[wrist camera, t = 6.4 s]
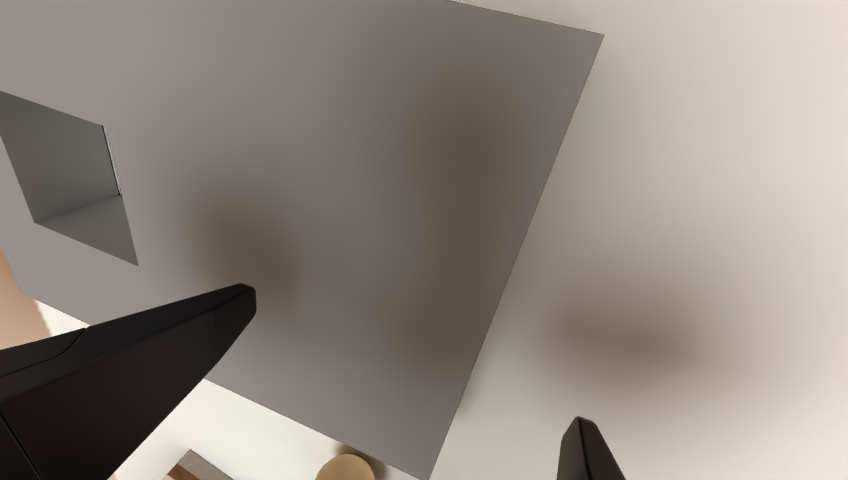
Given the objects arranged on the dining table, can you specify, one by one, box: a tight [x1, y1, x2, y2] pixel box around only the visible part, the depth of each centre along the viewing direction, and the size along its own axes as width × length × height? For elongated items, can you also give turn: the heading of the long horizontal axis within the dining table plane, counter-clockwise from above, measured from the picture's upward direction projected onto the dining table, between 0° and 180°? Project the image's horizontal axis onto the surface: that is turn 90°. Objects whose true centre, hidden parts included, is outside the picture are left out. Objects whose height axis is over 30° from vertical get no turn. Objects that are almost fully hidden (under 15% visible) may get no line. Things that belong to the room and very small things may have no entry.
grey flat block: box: [0, 0, 604, 480], centre depth 14 cm, size 16×22×4 cm
